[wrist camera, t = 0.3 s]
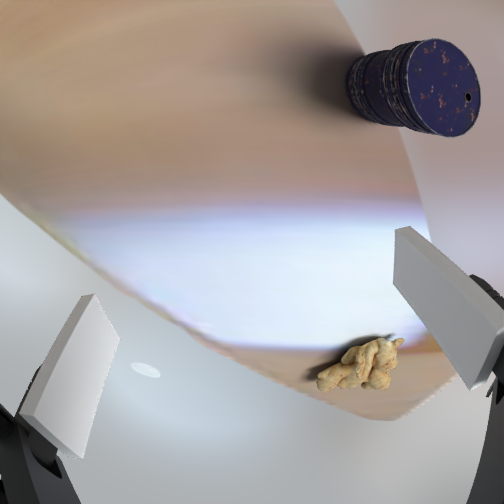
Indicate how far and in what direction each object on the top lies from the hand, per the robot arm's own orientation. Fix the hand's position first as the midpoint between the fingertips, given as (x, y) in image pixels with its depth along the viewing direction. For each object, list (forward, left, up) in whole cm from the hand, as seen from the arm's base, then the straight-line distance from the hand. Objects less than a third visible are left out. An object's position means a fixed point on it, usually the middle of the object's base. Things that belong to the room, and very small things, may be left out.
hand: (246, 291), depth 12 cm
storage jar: (-7, +20, -28) cm, 35 cm away
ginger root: (+40, +16, -28) cm, 51 cm away
